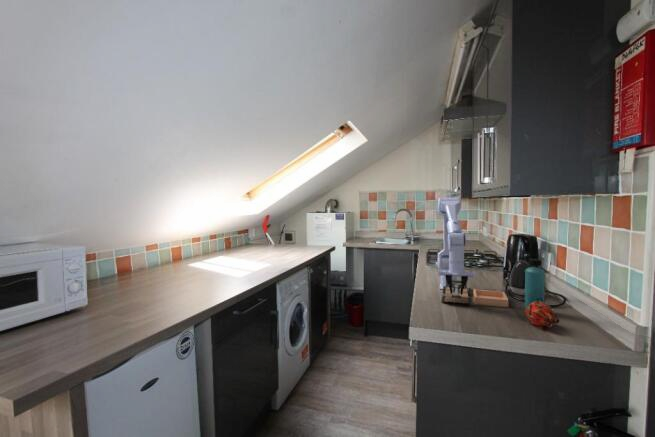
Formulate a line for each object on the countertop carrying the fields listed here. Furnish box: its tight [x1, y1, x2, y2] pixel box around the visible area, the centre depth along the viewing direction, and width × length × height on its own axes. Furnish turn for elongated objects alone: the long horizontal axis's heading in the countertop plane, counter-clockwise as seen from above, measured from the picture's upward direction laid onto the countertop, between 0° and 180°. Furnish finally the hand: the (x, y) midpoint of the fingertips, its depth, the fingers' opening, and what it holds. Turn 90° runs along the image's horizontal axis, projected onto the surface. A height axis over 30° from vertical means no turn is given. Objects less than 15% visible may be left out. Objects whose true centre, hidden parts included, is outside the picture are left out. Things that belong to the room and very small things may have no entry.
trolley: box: [441, 279, 473, 306], centre depth 136 cm, size 20×11×6 cm, turn 158°
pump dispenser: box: [508, 259, 535, 297], centre depth 140 cm, size 10×10×15 cm
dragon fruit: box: [524, 301, 561, 329], centre depth 106 cm, size 8×8×12 cm
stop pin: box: [452, 283, 461, 304], centre depth 130 cm, size 3×3×8 cm
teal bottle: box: [524, 258, 546, 308], centre depth 119 cm, size 6×7×20 cm
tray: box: [472, 288, 509, 309], centre depth 131 cm, size 12×12×3 cm
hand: (456, 293), depth 130 cm, fingers closed on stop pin, 3 cm apart
